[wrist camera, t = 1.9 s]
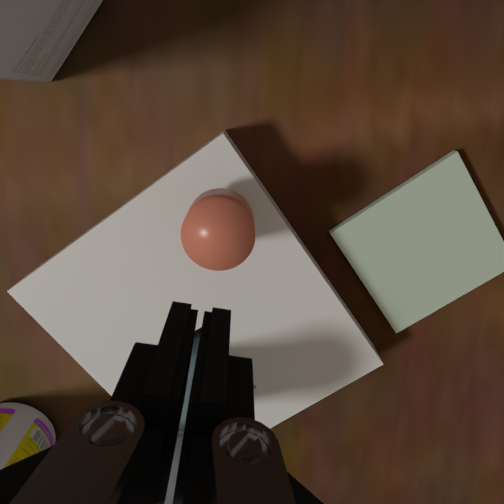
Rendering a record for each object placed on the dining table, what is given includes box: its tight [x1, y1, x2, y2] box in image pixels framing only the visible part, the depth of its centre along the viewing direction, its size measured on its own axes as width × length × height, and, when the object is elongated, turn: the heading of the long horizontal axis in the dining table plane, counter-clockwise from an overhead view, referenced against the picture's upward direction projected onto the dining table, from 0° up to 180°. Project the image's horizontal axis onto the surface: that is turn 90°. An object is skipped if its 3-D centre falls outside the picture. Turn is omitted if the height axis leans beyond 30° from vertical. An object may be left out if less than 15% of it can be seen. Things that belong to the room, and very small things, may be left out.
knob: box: [181, 188, 255, 271], centre depth 25 cm, size 4×4×6 cm
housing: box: [7, 130, 383, 429], centre depth 31 cm, size 20×18×3 cm
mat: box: [329, 150, 504, 333], centre depth 31 cm, size 10×10×1 cm
